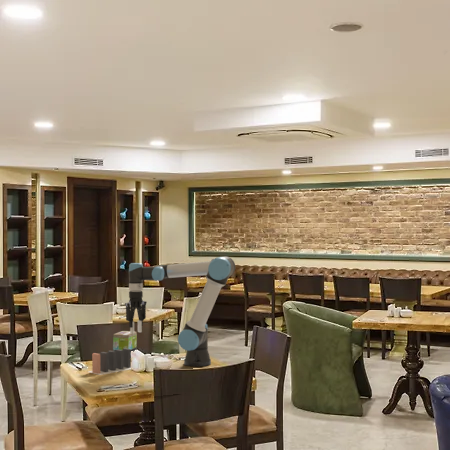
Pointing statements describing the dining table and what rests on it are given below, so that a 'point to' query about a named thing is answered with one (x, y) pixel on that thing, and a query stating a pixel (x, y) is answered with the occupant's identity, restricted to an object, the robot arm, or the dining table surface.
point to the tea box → (125, 340)
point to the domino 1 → (95, 363)
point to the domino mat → (111, 371)
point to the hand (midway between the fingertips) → (136, 332)
